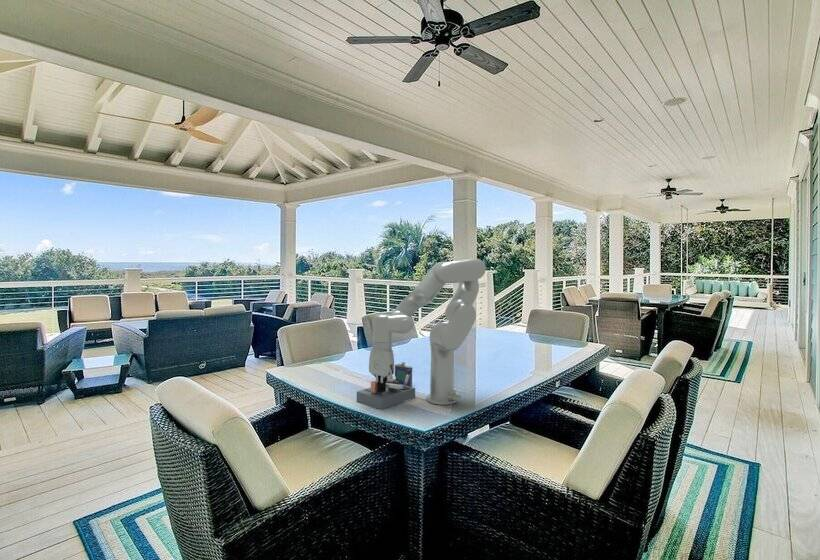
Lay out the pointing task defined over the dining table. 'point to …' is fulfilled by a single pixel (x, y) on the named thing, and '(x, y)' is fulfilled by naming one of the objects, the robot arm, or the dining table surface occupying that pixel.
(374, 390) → the slider knob
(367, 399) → the grey low block
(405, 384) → the toggle lever
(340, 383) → the dining table surface
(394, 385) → the rocker
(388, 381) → the push button
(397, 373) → the flask
